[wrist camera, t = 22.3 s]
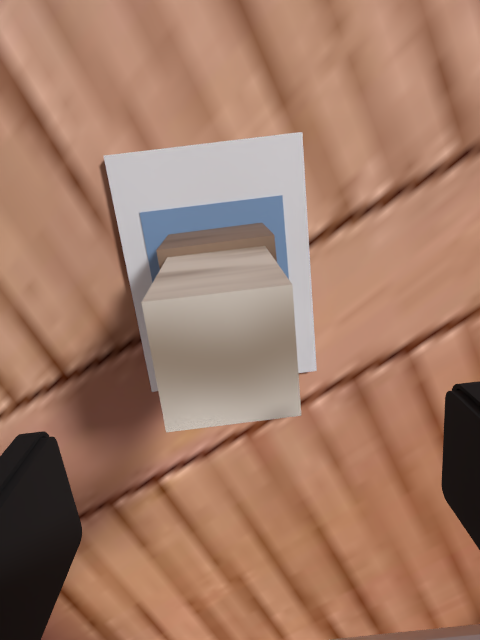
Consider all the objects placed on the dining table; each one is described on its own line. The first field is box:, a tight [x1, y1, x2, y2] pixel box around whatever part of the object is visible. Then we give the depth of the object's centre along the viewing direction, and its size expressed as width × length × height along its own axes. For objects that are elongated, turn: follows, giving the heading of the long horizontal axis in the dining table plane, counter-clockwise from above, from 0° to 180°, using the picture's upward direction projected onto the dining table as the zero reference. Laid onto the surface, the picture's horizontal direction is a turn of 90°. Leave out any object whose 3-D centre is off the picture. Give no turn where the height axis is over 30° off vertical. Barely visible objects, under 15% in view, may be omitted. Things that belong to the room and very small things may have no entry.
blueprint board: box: [104, 132, 316, 392], centre depth 28 cm, size 16×12×1 cm
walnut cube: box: [156, 223, 277, 269], centre depth 25 cm, size 6×6×6 cm
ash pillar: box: [141, 246, 301, 432], centre depth 19 cm, size 5×5×8 cm
